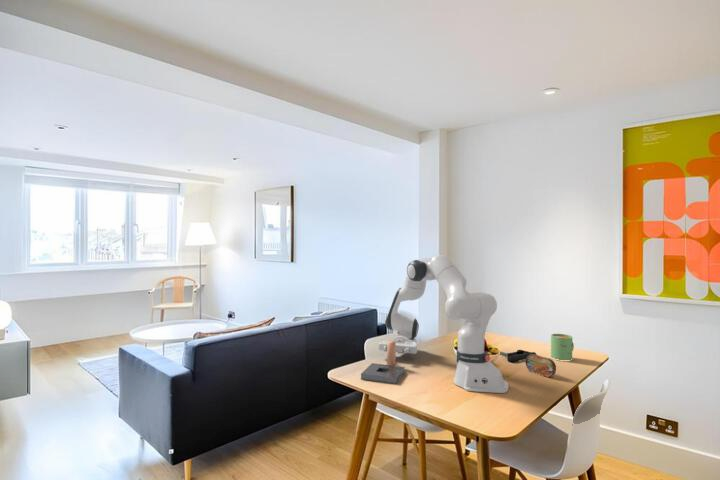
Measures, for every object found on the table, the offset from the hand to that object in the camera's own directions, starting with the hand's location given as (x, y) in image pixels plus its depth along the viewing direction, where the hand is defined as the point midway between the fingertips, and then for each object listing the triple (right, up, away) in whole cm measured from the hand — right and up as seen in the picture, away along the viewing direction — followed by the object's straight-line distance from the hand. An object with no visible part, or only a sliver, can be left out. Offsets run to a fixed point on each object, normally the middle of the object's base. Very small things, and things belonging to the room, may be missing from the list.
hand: (394, 350), depth 198 cm
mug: (+91, -8, +12) cm, 92 cm away
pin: (-2, -6, -5) cm, 8 cm away
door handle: (+65, -8, +14) cm, 67 cm away
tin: (+67, -7, -13) cm, 69 cm away
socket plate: (-7, -6, -18) cm, 20 cm away
